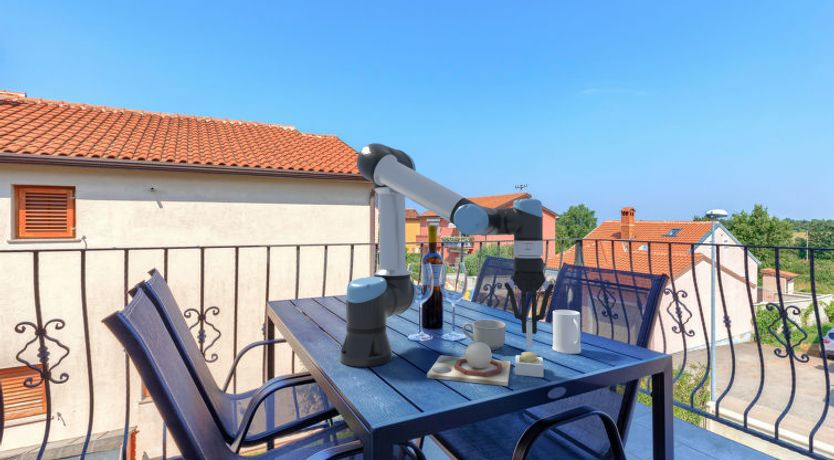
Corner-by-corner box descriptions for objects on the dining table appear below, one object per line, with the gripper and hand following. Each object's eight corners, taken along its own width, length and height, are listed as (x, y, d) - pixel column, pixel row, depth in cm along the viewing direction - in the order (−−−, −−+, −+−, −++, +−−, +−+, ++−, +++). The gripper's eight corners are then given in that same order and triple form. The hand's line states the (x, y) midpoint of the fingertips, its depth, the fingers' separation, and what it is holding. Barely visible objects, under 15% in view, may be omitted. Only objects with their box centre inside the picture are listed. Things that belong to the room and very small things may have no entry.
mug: (591, 357, 114) (591, 316, 114) (563, 357, 114) (562, 317, 114) (573, 346, 126) (573, 309, 126) (548, 346, 126) (547, 309, 126)
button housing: (515, 374, 100) (515, 363, 100) (515, 365, 106) (515, 355, 106) (543, 377, 98) (543, 365, 98) (542, 368, 104) (542, 357, 105)
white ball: (467, 362, 106) (467, 337, 107) (494, 365, 104) (494, 340, 104) (461, 369, 100) (461, 344, 100) (488, 373, 97) (488, 347, 98)
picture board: (426, 377, 97) (426, 370, 98) (440, 358, 113) (440, 352, 113) (507, 386, 92) (507, 378, 92) (510, 364, 107) (510, 358, 107)
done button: (521, 361, 101) (521, 355, 101) (521, 357, 105) (521, 351, 105) (537, 363, 100) (537, 356, 100) (536, 358, 104) (536, 352, 104)
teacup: (509, 345, 127) (508, 320, 127) (501, 354, 117) (501, 327, 117) (468, 340, 133) (468, 317, 133) (458, 348, 123) (458, 323, 123)
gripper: (502, 257, 101) (503, 347, 100) (555, 257, 97) (556, 351, 97) (504, 256, 108) (505, 340, 108) (553, 256, 104) (554, 343, 104)
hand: (529, 345), depth 102 cm, fingers closed
